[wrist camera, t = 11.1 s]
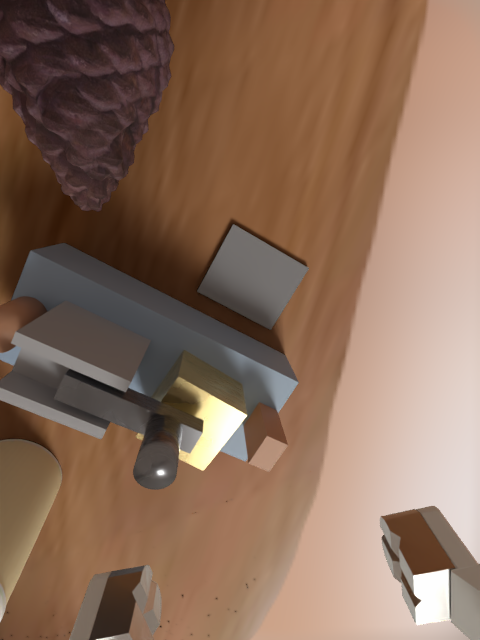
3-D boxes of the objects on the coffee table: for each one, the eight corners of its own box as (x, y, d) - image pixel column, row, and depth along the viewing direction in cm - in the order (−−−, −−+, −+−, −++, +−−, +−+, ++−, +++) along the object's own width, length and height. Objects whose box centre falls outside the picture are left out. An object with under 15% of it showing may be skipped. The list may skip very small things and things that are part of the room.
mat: (269, 328, 29) (270, 330, 29) (197, 290, 27) (197, 291, 27) (307, 267, 28) (309, 268, 27) (233, 223, 26) (233, 224, 26)
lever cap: (204, 432, 26) (203, 470, 22) (147, 402, 25) (135, 437, 21) (242, 383, 25) (247, 415, 21) (184, 349, 24) (178, 376, 20)
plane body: (240, 423, 32) (253, 527, 21) (28, 330, 27) (-84, 403, 17) (285, 354, 30) (322, 431, 20) (64, 242, 26) (-37, 265, 15)
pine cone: (171, 218, 26) (146, 224, 16) (33, 200, 25) (-80, 194, 15) (192, -85, 20) (173, -341, 11) (17, -126, 19) (-174, -451, 10)
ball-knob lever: (189, 442, 21) (183, 501, 16) (61, 390, 19) (19, 441, 15) (205, 417, 20) (202, 471, 16) (75, 361, 18) (34, 405, 14)
